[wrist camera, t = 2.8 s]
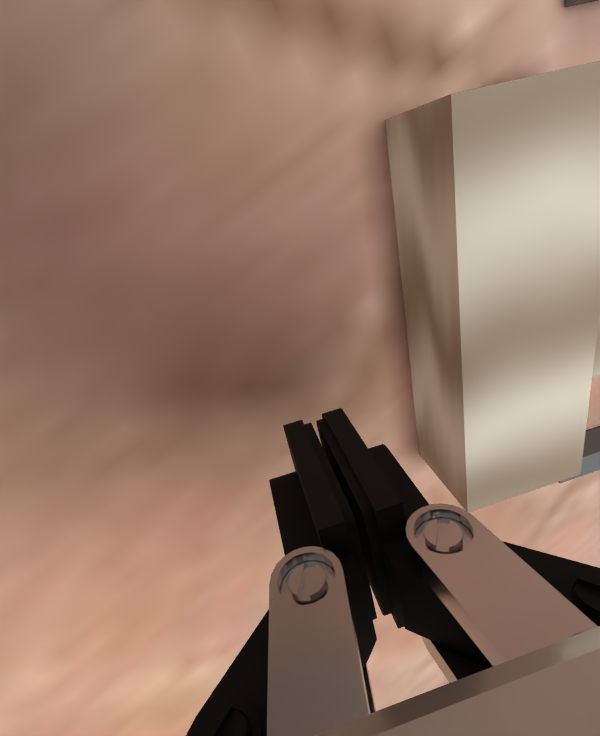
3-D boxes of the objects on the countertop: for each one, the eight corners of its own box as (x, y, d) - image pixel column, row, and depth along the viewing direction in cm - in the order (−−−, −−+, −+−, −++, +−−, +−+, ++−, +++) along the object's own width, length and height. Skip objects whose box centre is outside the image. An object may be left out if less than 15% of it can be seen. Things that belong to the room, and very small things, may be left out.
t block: (384, 120, 13) (450, 94, 10) (740, 38, 15) (911, -10, 11) (419, 453, 19) (467, 513, 16) (669, 372, 21) (765, 409, 17)
